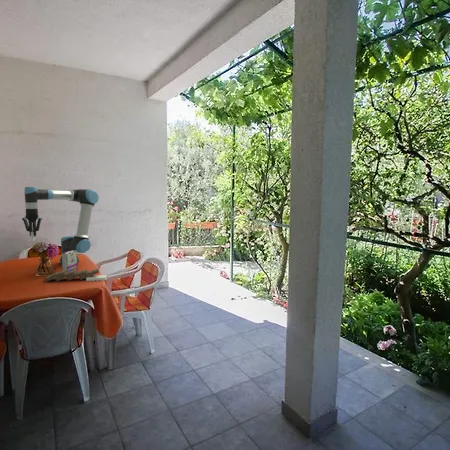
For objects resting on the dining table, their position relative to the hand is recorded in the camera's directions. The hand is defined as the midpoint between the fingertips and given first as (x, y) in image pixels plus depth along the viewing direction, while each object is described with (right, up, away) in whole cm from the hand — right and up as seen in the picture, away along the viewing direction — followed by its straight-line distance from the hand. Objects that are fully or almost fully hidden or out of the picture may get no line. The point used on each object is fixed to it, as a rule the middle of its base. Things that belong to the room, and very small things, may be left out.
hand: (33, 240), depth 227 cm
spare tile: (+40, -27, -2) cm, 49 cm away
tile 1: (+14, -26, -7) cm, 31 cm away
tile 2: (+20, -27, -6) cm, 34 cm away
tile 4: (+35, -26, -2) cm, 44 cm away
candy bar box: (+20, -26, +14) cm, 35 cm away
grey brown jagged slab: (+28, -26, -4) cm, 38 cm away
